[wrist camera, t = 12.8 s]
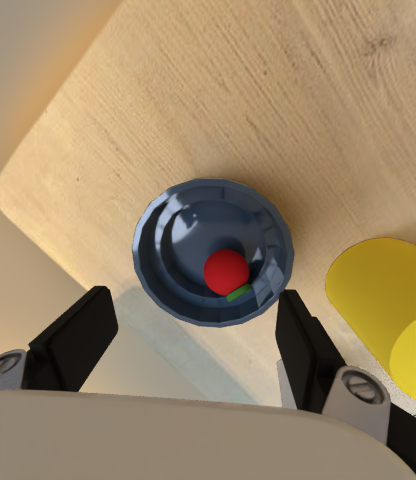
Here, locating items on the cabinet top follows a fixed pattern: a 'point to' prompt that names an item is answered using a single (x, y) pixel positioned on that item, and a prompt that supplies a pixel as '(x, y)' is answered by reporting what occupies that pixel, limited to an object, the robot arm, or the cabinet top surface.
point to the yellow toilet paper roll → (380, 303)
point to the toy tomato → (227, 274)
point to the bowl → (211, 250)
